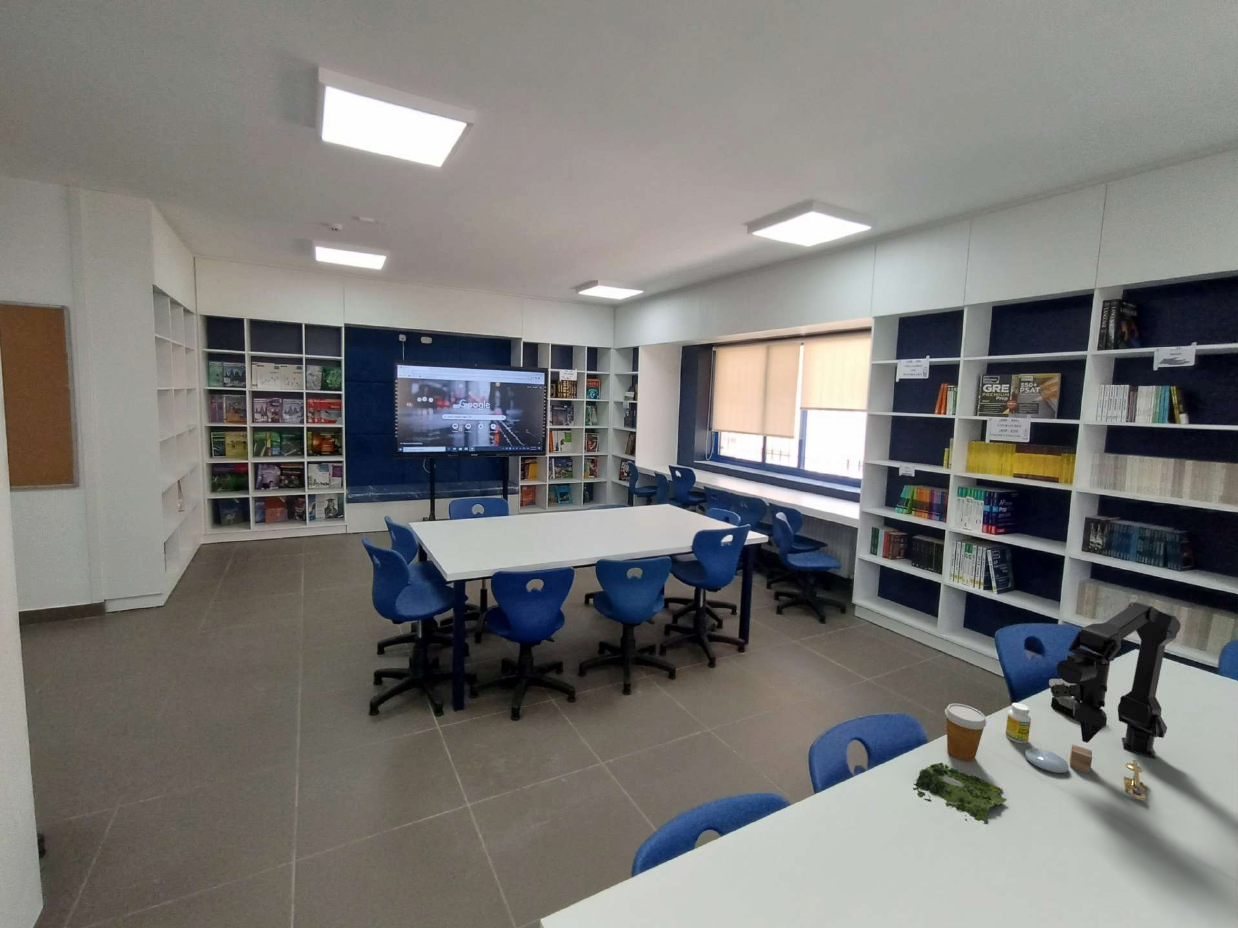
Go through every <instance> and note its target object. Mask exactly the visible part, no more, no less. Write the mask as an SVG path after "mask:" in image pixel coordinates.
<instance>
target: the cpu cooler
mask: <svg viewBox="0 0 1238 928" xmlns="http://www.w3.org/2000/svg"><path fill="white" fill-rule="evenodd" d="M1050 702H1051V703H1050V708H1052V710H1055V711H1057V712H1059V713H1060V712H1061V714H1063V715H1065V716H1067V717H1068V718H1071V719H1073V720H1075V721H1077V722H1079V721H1078V720H1076V719H1075V718H1074V714H1073V712H1074V705H1075V704H1077V701H1076V700H1074V698H1073V696H1072V697H1053V696H1052V697H1051V701H1050Z"/></svg>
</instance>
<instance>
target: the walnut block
mask: <svg viewBox="0 0 1238 928" xmlns="http://www.w3.org/2000/svg"><path fill="white" fill-rule="evenodd" d="M1069 756H1070V757H1069V768H1072V769H1076V770H1078V771H1081V772H1083V773H1085V774H1091V769H1092V760H1093V751H1092V750H1091V749H1088V748H1086V747H1083V746H1079V745H1076V744H1073V743H1072V744H1071V750H1070V755H1069Z"/></svg>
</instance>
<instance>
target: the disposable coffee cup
mask: <svg viewBox="0 0 1238 928" xmlns="http://www.w3.org/2000/svg"><path fill="white" fill-rule="evenodd" d="M944 714H945V717H946V741H947V742H946V747H947V749H946V750H947V753H948V754H949V755H950V756H951V757H952V758H954V759H956V760H959V761H963V762H967V763H968V762H970V763H971V762H974V761H975V759H976V756H977V753H978V749H979V746H980V743H981V739H982V735H983V732H984V730H985V729H984V728H985V727H986V726H987V720H986V715H985V714H984V713H983V712H982V711H980V710H979V709H976V708H974V707H972V706H970V705H966V704H962V703H950V704H948V706H947V707H946V708H945V709H944Z"/></svg>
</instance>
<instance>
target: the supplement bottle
mask: <svg viewBox="0 0 1238 928" xmlns="http://www.w3.org/2000/svg"><path fill="white" fill-rule="evenodd" d="M1029 713H1030V708H1029V706H1027V705H1025V704H1024V703H1023V704H1022V703H1020V702H1013V703H1011V709H1010V710H1008V711H1007V717H1006V718H1007V719H1006V727H1005V736H1006V737H1007V739H1008V740H1010V741H1013V742H1014V743H1018V744H1027V743H1028V742H1029V736H1030V730H1031V723H1032V718H1031V716H1030V715H1029Z"/></svg>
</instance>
